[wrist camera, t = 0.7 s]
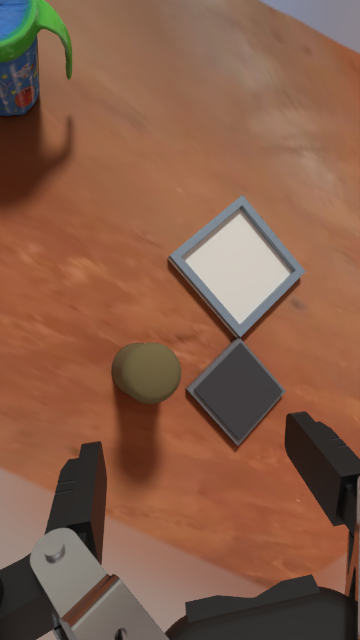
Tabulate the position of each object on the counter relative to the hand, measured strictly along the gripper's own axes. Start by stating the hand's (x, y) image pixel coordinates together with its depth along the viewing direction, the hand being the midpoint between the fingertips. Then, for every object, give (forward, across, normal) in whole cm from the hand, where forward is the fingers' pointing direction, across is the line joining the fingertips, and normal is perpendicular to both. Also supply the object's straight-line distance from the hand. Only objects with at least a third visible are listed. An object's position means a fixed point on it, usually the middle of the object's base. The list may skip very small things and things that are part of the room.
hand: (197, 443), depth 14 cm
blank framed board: (+29, -11, -2) cm, 31 cm away
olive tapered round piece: (+22, +2, +8) cm, 24 cm away
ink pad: (+22, -9, +12) cm, 27 cm away
